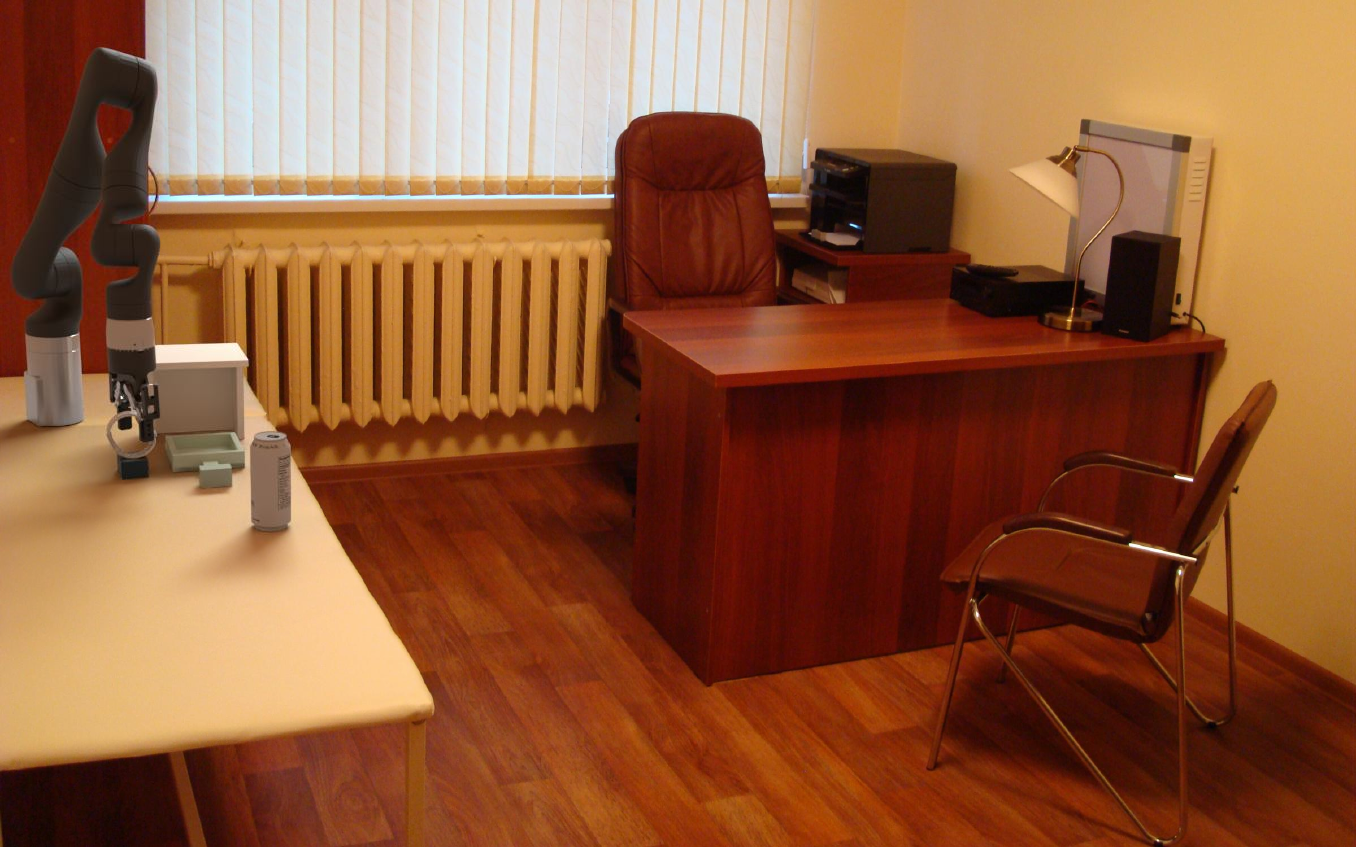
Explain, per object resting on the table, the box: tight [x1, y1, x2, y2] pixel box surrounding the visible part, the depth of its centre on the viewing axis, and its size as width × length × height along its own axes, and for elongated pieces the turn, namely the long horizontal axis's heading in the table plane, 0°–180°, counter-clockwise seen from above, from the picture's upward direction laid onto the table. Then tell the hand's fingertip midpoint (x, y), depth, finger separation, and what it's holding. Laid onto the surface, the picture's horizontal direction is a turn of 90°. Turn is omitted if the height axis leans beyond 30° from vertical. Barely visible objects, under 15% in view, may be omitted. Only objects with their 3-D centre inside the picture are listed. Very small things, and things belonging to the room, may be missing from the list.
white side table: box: [147, 342, 250, 445], centre depth 238 cm, size 14×17×17 cm
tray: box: [165, 431, 246, 489], centre depth 225 cm, size 22×12×3 cm, turn 27°
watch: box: [106, 410, 158, 480], centre depth 219 cm, size 6×8×11 cm
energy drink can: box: [249, 430, 292, 533], centre depth 200 cm, size 6×6×15 cm
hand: (136, 435), depth 219 cm, fingers open, 8 cm apart
